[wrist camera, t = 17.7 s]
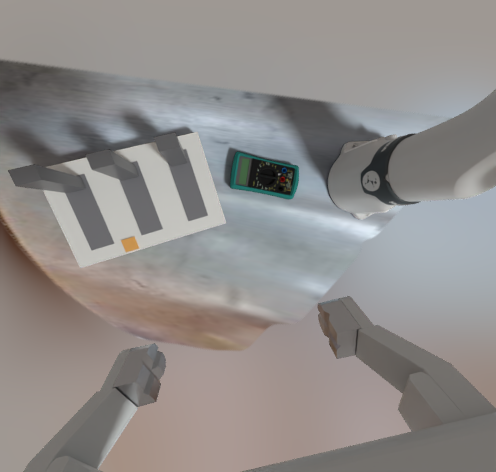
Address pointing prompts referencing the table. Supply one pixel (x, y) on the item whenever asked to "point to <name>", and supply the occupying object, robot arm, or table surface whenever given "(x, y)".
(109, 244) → the box
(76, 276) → the table surface
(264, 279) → the table surface
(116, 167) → the post
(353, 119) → the table surface
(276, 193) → the digital multimeter
